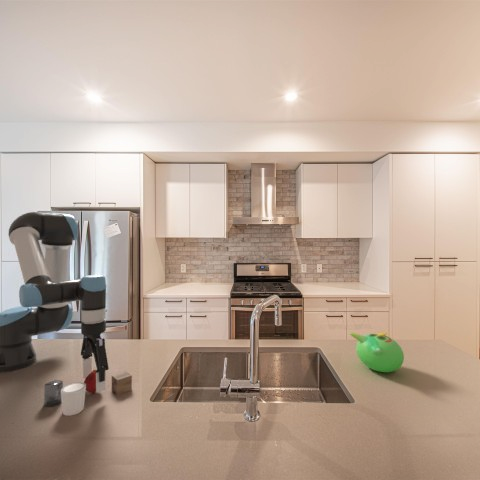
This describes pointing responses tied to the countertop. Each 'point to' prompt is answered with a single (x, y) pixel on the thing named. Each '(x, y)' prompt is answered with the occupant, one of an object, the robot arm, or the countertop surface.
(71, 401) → the white short cylinder
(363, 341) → the toy bird
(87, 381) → the onion
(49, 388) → the metal tin
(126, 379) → the walnut block
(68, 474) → the countertop surface
